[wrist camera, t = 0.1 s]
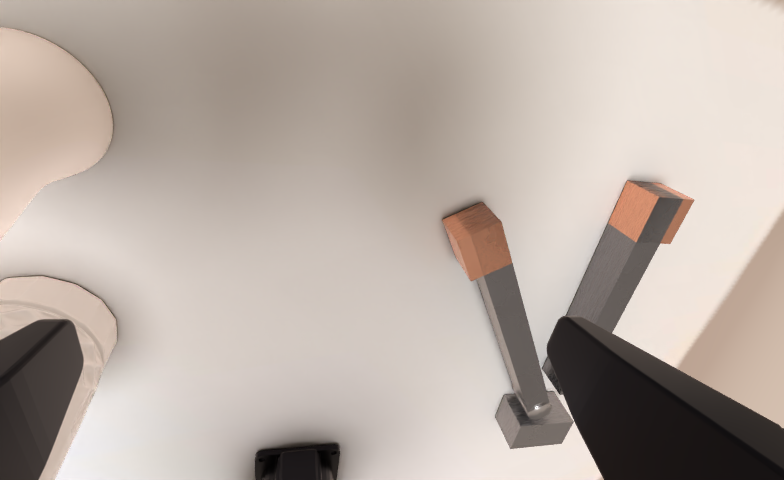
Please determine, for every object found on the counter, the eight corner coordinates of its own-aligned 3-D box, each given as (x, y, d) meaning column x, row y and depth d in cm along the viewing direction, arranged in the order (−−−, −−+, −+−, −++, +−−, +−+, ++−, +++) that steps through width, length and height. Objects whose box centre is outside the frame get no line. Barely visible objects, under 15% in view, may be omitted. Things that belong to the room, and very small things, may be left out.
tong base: (547, 412, 36) (565, 443, 34) (495, 416, 35) (510, 448, 32) (660, 183, 26) (700, 202, 23) (592, 177, 24) (626, 197, 22)
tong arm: (537, 386, 34) (553, 413, 31) (507, 399, 34) (521, 426, 31) (484, 201, 23) (502, 221, 21) (442, 219, 24) (456, 241, 21)
